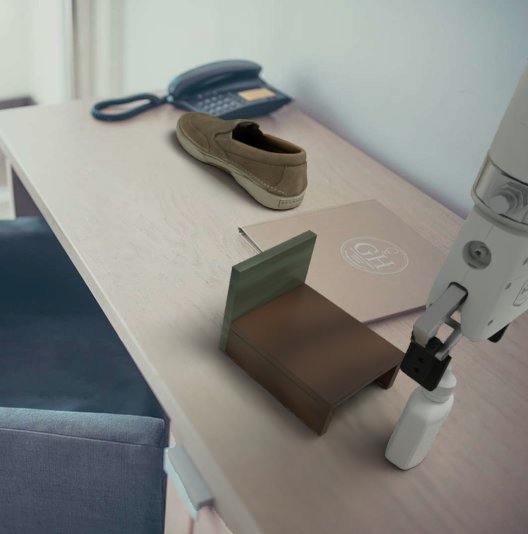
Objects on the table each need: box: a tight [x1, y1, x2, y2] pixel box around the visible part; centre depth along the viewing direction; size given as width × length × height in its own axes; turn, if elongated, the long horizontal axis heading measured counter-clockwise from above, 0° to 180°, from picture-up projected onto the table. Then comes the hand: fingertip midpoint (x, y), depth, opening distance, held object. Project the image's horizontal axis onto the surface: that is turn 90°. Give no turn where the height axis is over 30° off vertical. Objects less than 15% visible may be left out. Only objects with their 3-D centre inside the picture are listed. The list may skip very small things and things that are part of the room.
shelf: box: [218, 229, 406, 437], centre depth 69 cm, size 15×12×12 cm
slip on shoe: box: [175, 111, 308, 210], centre depth 105 cm, size 30×11×9 cm, turn 25°
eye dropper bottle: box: [384, 364, 458, 471], centre depth 60 cm, size 4×6×12 cm
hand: (450, 355), depth 56 cm, fingers open, 9 cm apart
